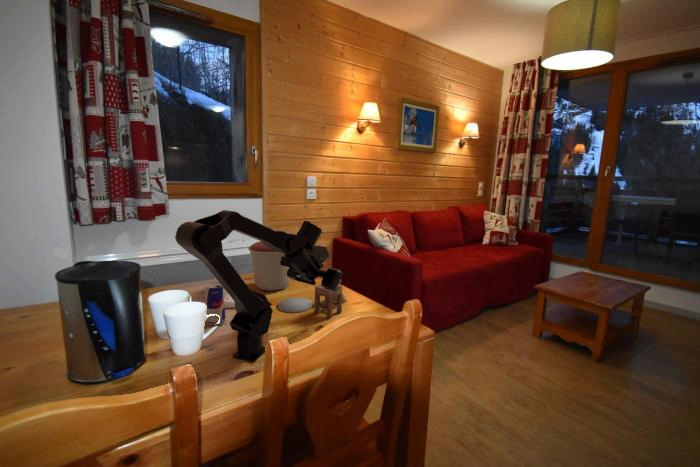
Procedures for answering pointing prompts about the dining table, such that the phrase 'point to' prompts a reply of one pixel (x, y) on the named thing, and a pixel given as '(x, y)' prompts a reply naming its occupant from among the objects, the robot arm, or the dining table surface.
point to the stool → (328, 300)
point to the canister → (268, 268)
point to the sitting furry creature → (227, 299)
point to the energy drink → (215, 303)
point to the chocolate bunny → (342, 297)
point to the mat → (295, 305)
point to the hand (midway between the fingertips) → (325, 287)
